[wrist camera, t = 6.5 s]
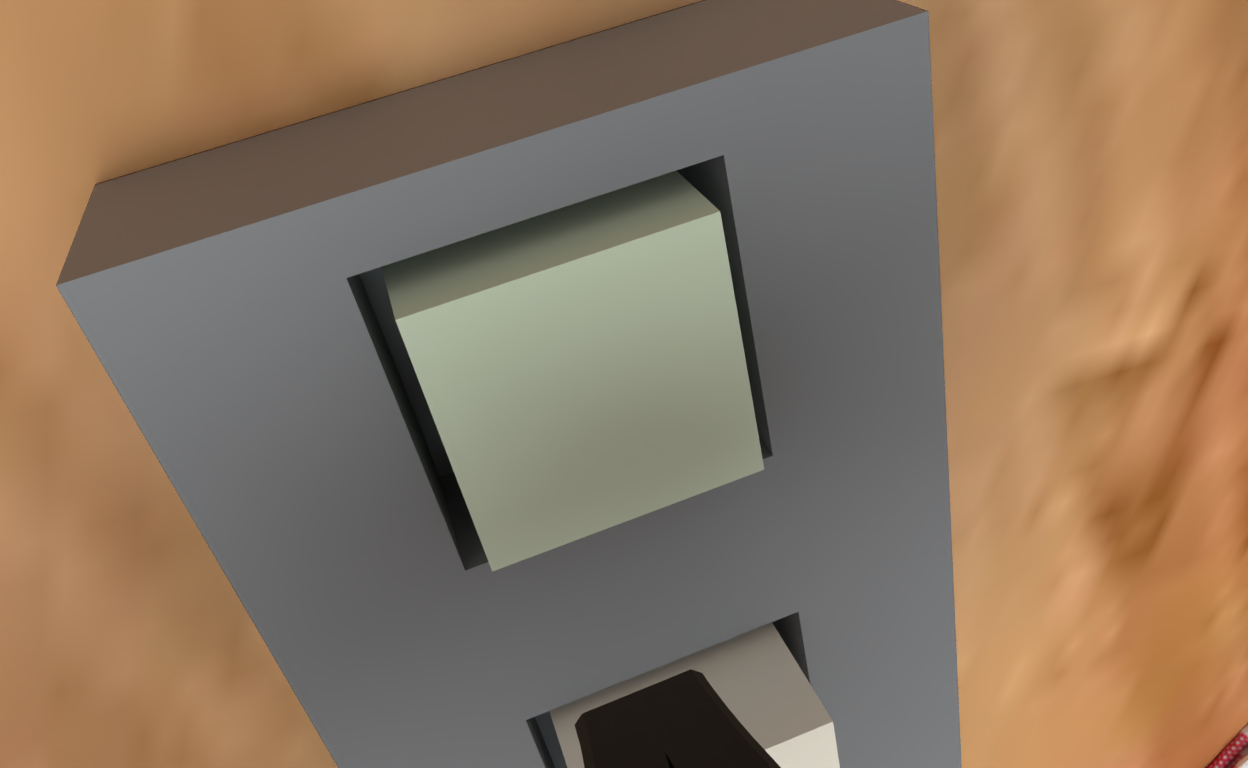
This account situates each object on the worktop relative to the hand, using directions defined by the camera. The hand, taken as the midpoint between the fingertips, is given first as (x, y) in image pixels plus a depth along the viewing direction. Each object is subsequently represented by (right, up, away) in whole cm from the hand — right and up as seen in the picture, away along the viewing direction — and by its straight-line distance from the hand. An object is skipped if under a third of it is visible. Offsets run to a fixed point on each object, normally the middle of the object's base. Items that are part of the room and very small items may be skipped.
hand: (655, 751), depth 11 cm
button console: (0, -1, +11) cm, 11 cm away
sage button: (-2, +5, +5) cm, 7 cm away
